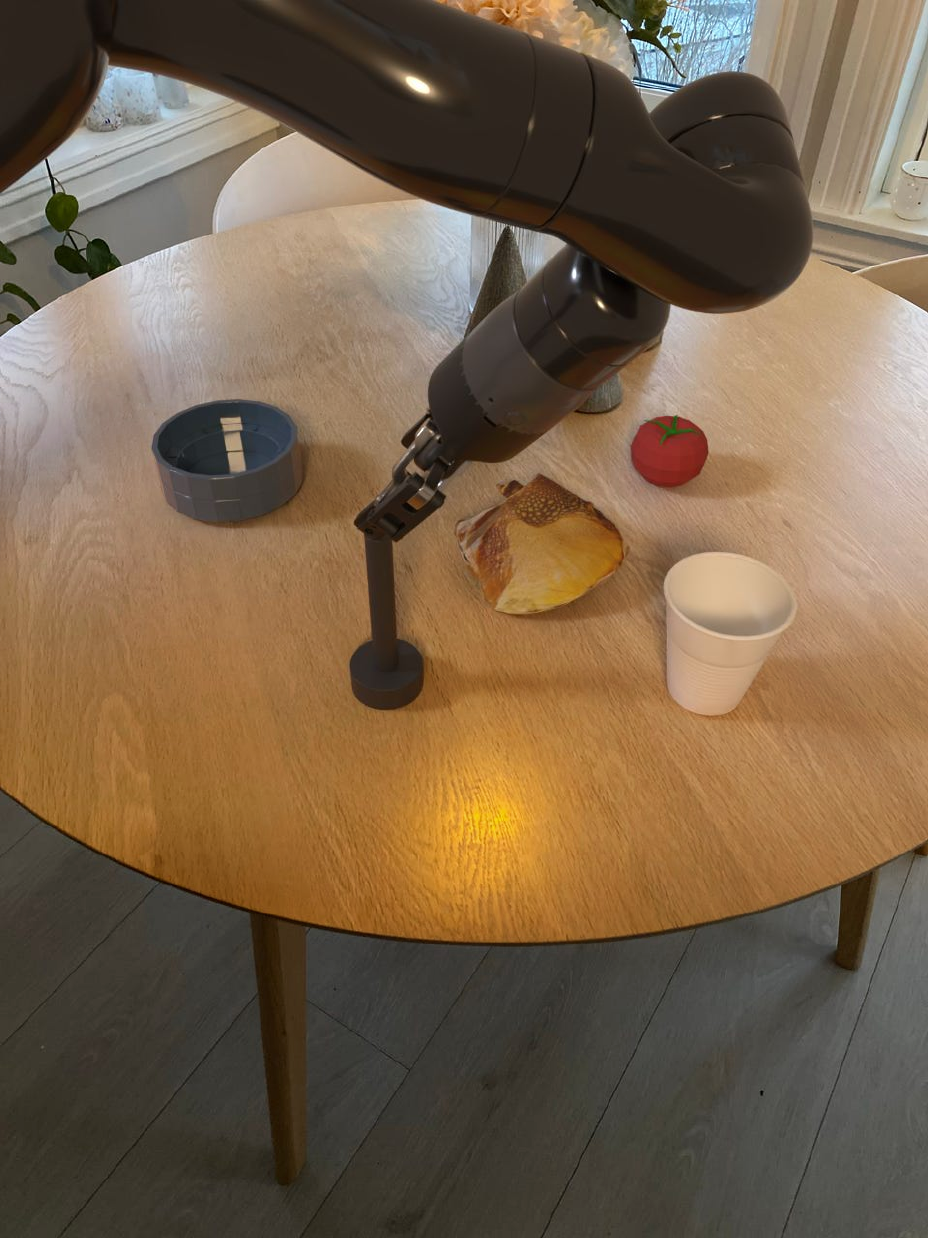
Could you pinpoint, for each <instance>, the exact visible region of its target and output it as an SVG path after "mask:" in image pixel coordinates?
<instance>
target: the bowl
mask: <svg viewBox="0 0 928 1238" xmlns="http://www.w3.org/2000/svg"><path fill="white" fill-rule="evenodd" d="M300 447H301V446H300V440H299V431H298V426H297V424H296V423H295V420H293V418H292V416H291V415H290V414H288V413H287V412H285V411H284V410H283V409H281V408H279V407H278V406H275V405H272V404H269V403H266V402H263V401H260V400H252V399H243V398H242V399H241V398H231V399H218V400H213V401H208V402H203V403H199V404H196V405H193V406H190V407H188V408H186V409H183V410H180V411H179V412H176V413H174V414H173V415H172V416H170V417H169V418H167V419H166V420H165V421H164V422H162V423H161V425H160V426H159V427H158V428H157V430H155V432H154V434H153V436H152V441H151V447H150V449H151V453H152V458H153V461H154V465H155V469H156V472H157V477H158V480H159V485H160V489H161V492H162V494H163V496H164V499H165V502H166V503H167V504H168V505H169V506H170V507H172V508H173V509H174V510H175V511H176V512H178V513H179V514H181V515H184V516H186V517H190V518H192V519H194V520H198V521H204V522H205V521H206V522H213V523H229V522H230V523H231V522H242V521H245V520H250V519H253V518H257V517H261V516H264V515H267V514H268V513H270V512H273V511H275V510H276V509H279V508H280V507H283V506H284V505H285V504H286V503H287V502H288V501H290V500H291V499H292V498H293V497H294V496H295V495H296V494H297V492H298V491H299V489H300V486H301V485H302V482H303V480H304V479H303V464H302V463H303V462H302V456H301V448H300Z"/></svg>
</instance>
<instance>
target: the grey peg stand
mask: <svg viewBox="0 0 928 1238" xmlns="http://www.w3.org/2000/svg"><path fill="white" fill-rule="evenodd" d="M363 538H364V552H365V565H366V580H367V591H368V604H369V617H370V631H371V632H370V633H371V640H368V641H366V642H364V643H363V644H361V645H360V646H358V647H357V648H356V650H355V651H353V653H352V655H351V657H350V658H349V659H350V660H349V664H348V665H349V677H350V685H351V692H352V693H353V695H354V697H355V698H356V699H357V700H358V701H359V702H360V703H361V704H362V705H364V706H366V707H369V708H371V709H375V710H379V711H381V710H382V711H391V710H397V709H401V708H404V707H405V706H408V705H409V704H411V703H412V702H414V701H415V700H416V699H417V698H418V697H419V696H420V694H421V692H422V691H423V687H424V660H423V656H422V654H421V652H420V651H419V650H418V648H417V647H416V646H415V645H414V644H412V643H411V642H409V641H407V640H404V639H401V638H398V627H397V605H396V588H395V586H396V585H395V565H394V564H395V563H394V545H393V540H392V539H390V537H389V536H387V535H386V534H385V535H384V536H383V537H381V538H380V539H378V540H372V539H371V538H369V537H368V536H367V535H365V534H364V533H363Z"/></svg>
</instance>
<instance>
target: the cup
mask: <svg viewBox="0 0 928 1238" xmlns="http://www.w3.org/2000/svg"><path fill="white" fill-rule="evenodd" d="M663 594H664V598H665V600H666V601H665V604H666V605H665V607H666V609H665V610H666V611H665V613H666V617H665V618H666V619H665V620H666V688H667V690H668V693H669V695H670V696H671V698H672V700H673V701H674V702H675V703H676V704H678V705H679V706H680V707H682V708H683V709H685V710H687V711H688V712H691V713H693V714H697V715H701V716H709V717H711V716H712V717H714V716H722V715H725V714H728V713H730V712H732V711H733V710H734V709H736V708H737V707H738V705H739V704H740V703H741V702H742V700H743V698H744V696H746V693H747V692H748V690H749V689H750V686H751V685H752V684H753V681H754V680H755V678H756V677H757V675H758V673H759V672H760V670H761V668H762V666H764V663H765V662H766V660H767V659H768V657H769V655H770V654H771V652H772V651H773V649H774V648H775V646H776V644H777V642H778V641H779V639H780V637H781V636H782V634H783V633H784V631H785V630H786V629H787V628H788V627H790V626H791V624H792V623H793V621H794V620H795V618H796V616H797V612H798V599H797V595H796V592H795V590H794V588H793V586H792V585H791V584H790V582H789V581H788V580H787V578H786V577H784V576H783V574H781V573H780V572H779V571H778V570H776V569H775V568H774V567H772V566H771V565H769V564H767V563H765V562H763V561H761V560H758V559H756V558H754V557H752V556H749V555H748V556H747V555H744V554H740V553H737V552H736V553H735V552H730V551H704V552H698V553H695V554H691V555H688V556H687V557H685V558H682V559H680V560H679V561H678V562H676V563H675V564H674V565H673V566H672V567H671V568H670V569H669V570H668V571H667V574H666V576H665V577H664V581H663Z"/></svg>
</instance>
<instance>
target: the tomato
mask: <svg viewBox="0 0 928 1238" xmlns="http://www.w3.org/2000/svg"><path fill="white" fill-rule="evenodd" d="M644 422H645V423H643V424H641V425H640V426H639V428H638V430H637V432H636V433H635V435H634V436H633V439H632V441H631V444H630V456H631V457H630V458H631V462H632V464H633V465H632V466H633V467H634V469H635V470H636V471H637V473H638V474H639V475H640V476H641V477H642V478H643V479H644V480H645V481H646V482H648V483H649V484H651V485H654V486H656V487H660V488H676V487H681V486H683V485H685V484H687V483H689V482H690V481H692V480H693V479H696V477H698V476H700V475H701V472H702V470H703V468H704V466H705V464H706V462H707V459H708V456H709V453H710V452H709V443H708V438H707V436H706V435H705V431H704V430H702V428H700V427H699V426H698V425H697V424H695V423H694V422H693V421H691V420H690V419H686V418H684V417H681V416H678V414H676V415H662V416H657V417H654V418H652V419H649V420H648V419H645V420H644Z"/></svg>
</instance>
